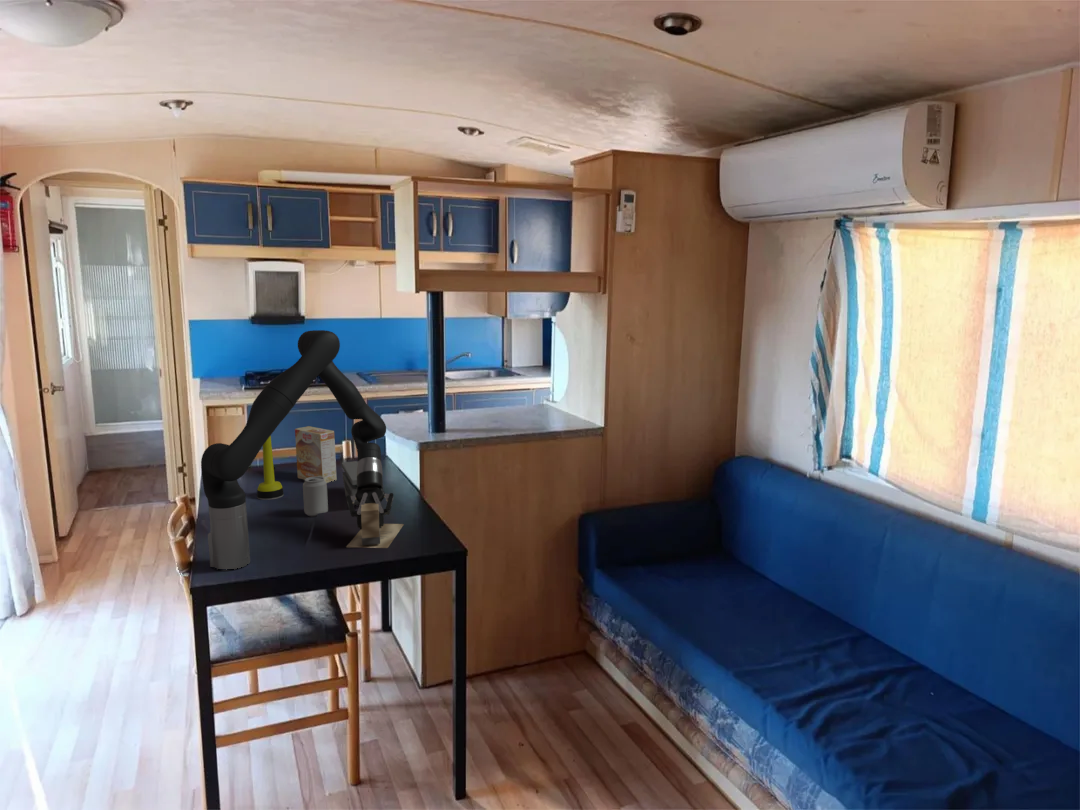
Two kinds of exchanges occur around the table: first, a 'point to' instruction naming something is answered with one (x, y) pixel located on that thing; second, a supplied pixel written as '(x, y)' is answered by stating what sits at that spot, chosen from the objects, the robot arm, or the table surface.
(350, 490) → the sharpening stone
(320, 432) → the coffeecake box
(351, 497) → the robot arm
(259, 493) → the flashlight
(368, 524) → the block
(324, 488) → the can
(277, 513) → the table surface
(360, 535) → the board
